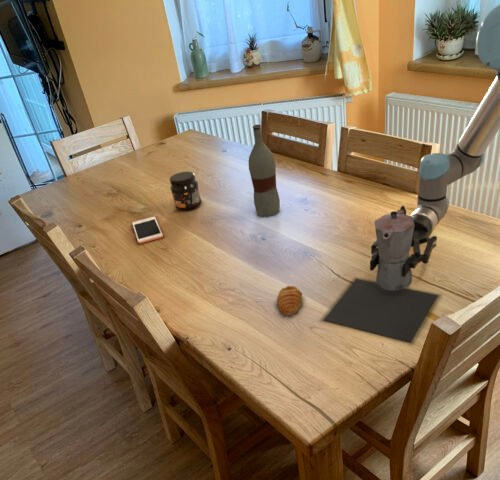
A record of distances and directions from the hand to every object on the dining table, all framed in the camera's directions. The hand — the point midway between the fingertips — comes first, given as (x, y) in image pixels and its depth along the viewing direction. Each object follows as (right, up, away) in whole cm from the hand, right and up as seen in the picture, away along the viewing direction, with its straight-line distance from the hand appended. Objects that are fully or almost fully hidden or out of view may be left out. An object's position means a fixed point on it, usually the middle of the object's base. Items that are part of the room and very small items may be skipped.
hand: (387, 268), depth 122 cm
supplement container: (-57, +34, +71) cm, 98 cm away
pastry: (-23, -8, +10) cm, 26 cm away
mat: (-1, -9, +3) cm, 10 cm away
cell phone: (-71, +21, +59) cm, 95 cm away
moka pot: (+4, -2, +7) cm, 8 cm away
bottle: (-27, +28, +57) cm, 69 cm away
